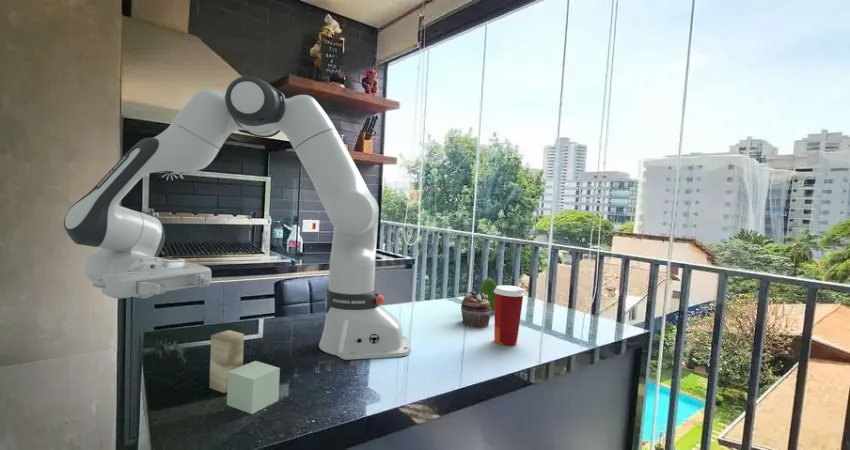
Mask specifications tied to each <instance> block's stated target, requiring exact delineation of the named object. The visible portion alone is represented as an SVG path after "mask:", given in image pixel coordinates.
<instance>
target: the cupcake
mask: <svg viewBox="0 0 850 450" xmlns="http://www.w3.org/2000/svg"><path fill="white" fill-rule="evenodd" d="M487 298H488V295H486V293H485V292H481V293H478V292H476V291H475V290H471V291H468V292H467V293H465V295H464V297H463V299H462V301H461V306H460V310H461V311H460V312H461V318H462V324H463V325H465V326H467V327H470V328H477V329H481V328H486V327H487V328H488V326H489V323H490V319H491V315H492V312H493V311H492V309H491V307H490V306H489V305H490V302H489V301H488V300H487Z"/></svg>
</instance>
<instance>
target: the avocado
mask: <svg viewBox="0 0 850 450" xmlns="http://www.w3.org/2000/svg"><path fill="white" fill-rule="evenodd" d="M496 286H498V284H497V282H496V281H495V280H494V279H493V278H491V277H487V278H485V279H484V280H483V281H482V282H481V285H480V287H479V289H478V292H477V293H481V292H485V293H486V295H488V298H487V300H488V301H489V302H490V305H489V306H490V307H491V309H492V312H495V293H494V290H495V288H496Z"/></svg>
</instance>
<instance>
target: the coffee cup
mask: <svg viewBox="0 0 850 450" xmlns="http://www.w3.org/2000/svg"><path fill="white" fill-rule="evenodd" d="M494 293H495V310H494V325H493V326H494V329H493V331H494V336H493V338H494V343H495V344H498V345H500V346H507V347H513V346H516V345H517V342H518V338H519V331H520V329H519V328H520V323H521V322H520V321H521V316H522V315H521V314H522V307H523V300H524V296H525V293H524V289H523V288H522V287H520V286H515V285H500V284H499V285H497V286H496V288H495V290H494Z"/></svg>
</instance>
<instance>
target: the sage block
mask: <svg viewBox="0 0 850 450" xmlns="http://www.w3.org/2000/svg"><path fill="white" fill-rule="evenodd" d="M280 371H281V368H280V367H277V366H275V365H271V364H269V363H265V362H261V361H258V360H254V361H251V362H249V363H248V362H247V363H246V364H243V366H241V367H238V368H236V369H233V370H230V371H228V386H227V392H226V393H227V394H226V406H229V407H231V408H234V409H237V410H240V411H242V412H245V413H248V414H250V415H253V414H255V413H257V412H258V411H260V410H263V409H265V408H267V407H269V406H270V405H272V404H275V403H277V402H278V401H279V398H280V397H279V395H280V393H279V392H280V376H281V375H280V373H281V372H280Z"/></svg>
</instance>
